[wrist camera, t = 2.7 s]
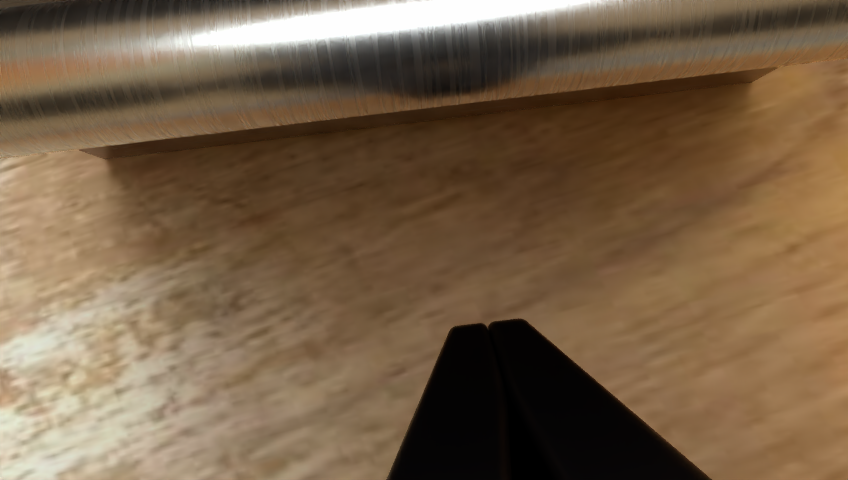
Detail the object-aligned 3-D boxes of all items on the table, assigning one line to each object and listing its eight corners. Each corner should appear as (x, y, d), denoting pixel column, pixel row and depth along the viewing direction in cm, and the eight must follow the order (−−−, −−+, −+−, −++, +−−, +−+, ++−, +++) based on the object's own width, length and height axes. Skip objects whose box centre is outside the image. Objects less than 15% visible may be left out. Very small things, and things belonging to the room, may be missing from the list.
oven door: (765, 175, 18) (2130, -181, 4) (113, 253, 18) (-1153, 206, 4) (744, 26, 19) (1972, -888, 4) (97, 102, 18) (-1175, -538, 4)
